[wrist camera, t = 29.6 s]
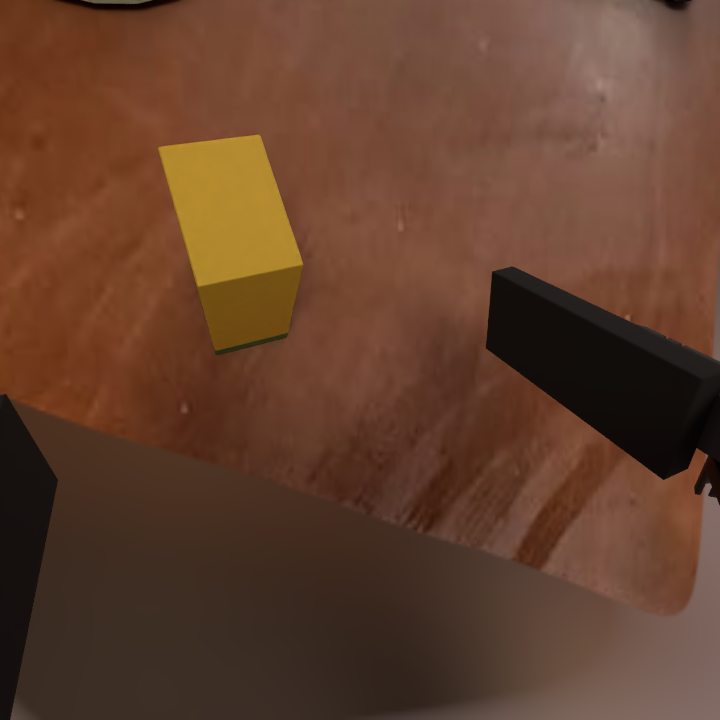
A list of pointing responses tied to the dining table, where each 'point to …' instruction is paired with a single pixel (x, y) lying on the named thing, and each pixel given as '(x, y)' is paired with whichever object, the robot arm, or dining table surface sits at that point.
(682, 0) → the figurine
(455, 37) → the dining table surface
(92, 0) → the bowl
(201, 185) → the sponge
